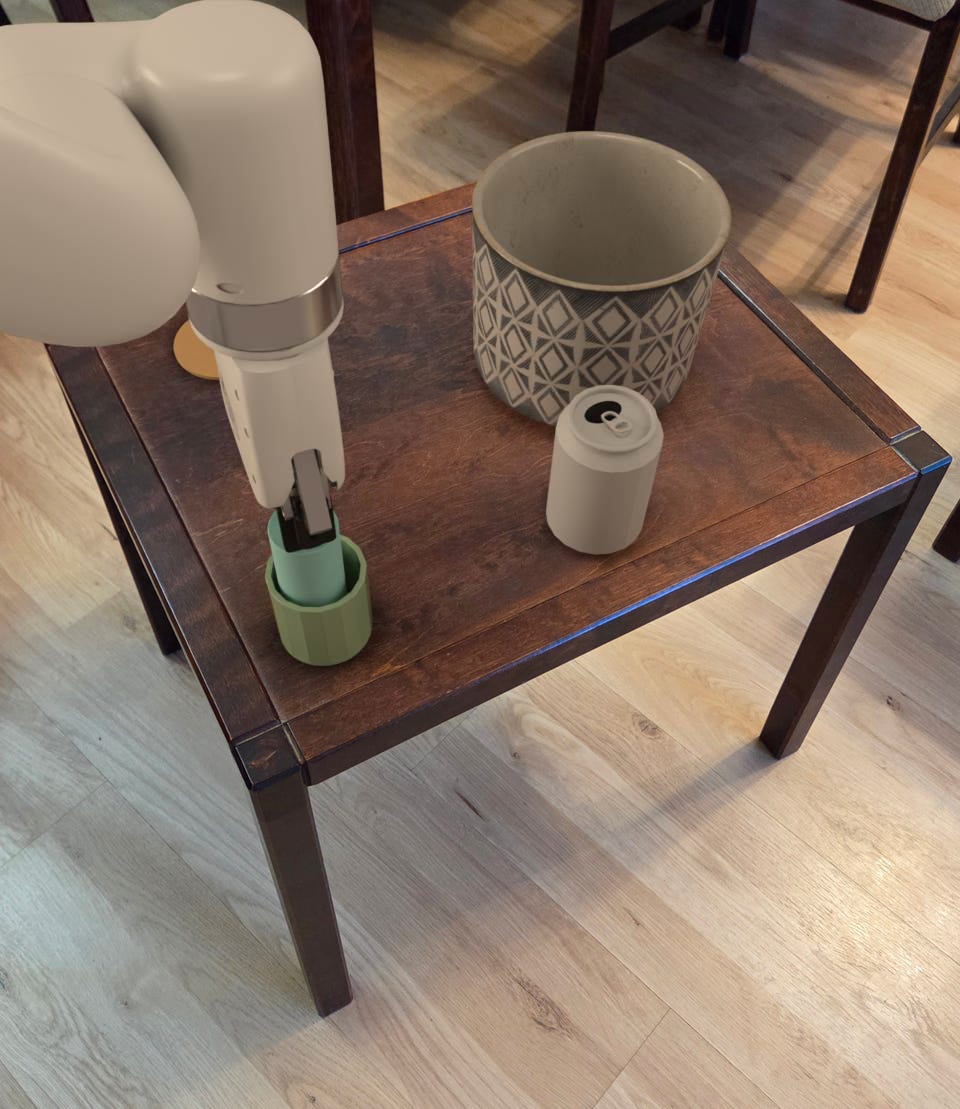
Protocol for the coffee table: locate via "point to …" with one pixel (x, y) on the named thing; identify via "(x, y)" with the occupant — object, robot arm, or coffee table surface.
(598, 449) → the can
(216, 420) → the coffee table surface
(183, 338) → the coaster
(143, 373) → the coffee table surface
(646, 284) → the planter
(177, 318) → the coffee table surface
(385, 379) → the coffee table surface
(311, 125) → the robot arm
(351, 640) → the holder
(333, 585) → the bottle
